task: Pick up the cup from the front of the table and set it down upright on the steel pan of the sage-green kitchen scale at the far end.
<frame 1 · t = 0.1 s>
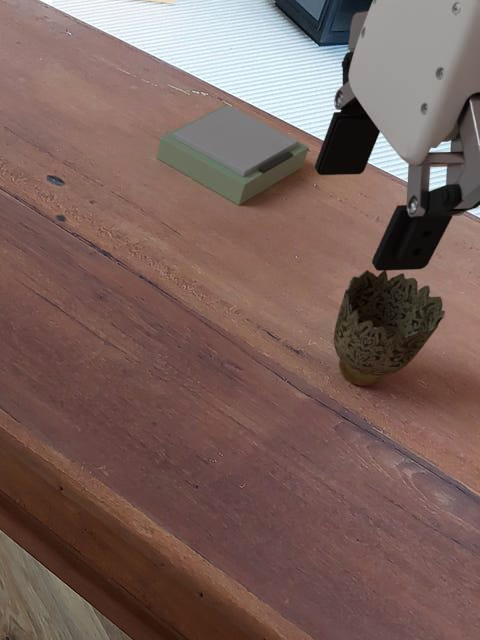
hand: (366, 217, 54), 20 cm above the table, tool pointing down, fingers open, 9 cm apart
scale: (229, 162, 94), on the table
cup: (357, 375, 75), on the table
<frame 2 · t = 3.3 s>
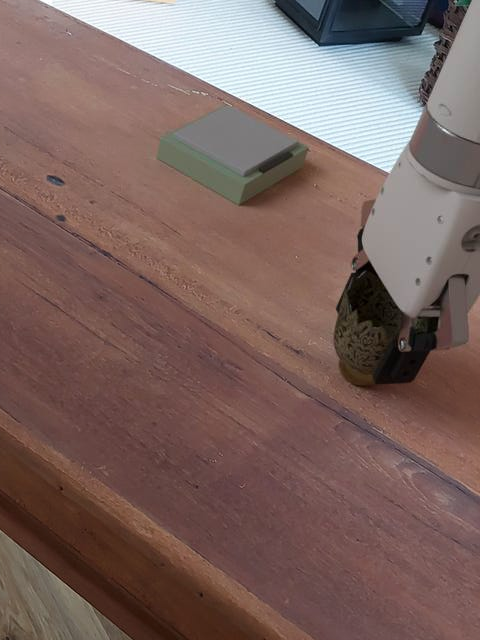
hand: (372, 344, 72), 3 cm above the table, tool pointing down, fingers closed on cup, 7 cm apart
cup: (357, 375, 75), on the table, touching gripper
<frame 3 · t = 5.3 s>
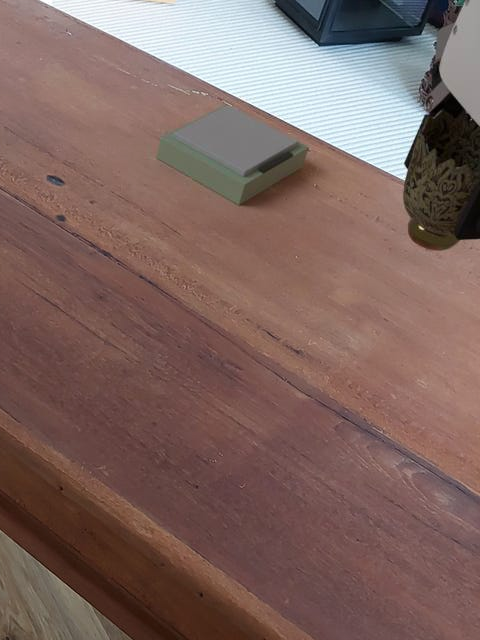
hand: (449, 199, 62), 17 cm above the table, tool pointing down, fingers closed on cup, 7 cm apart
cup: (429, 241, 64), point 13 cm above the table, touching gripper
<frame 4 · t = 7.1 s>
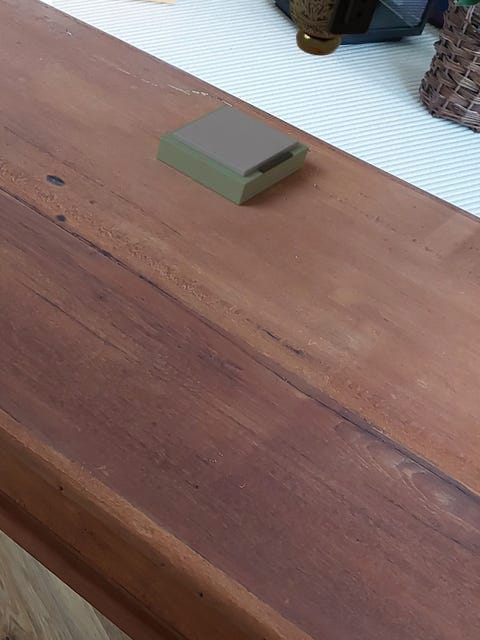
hand: (328, 8, 73), 20 cm above the table, tool pointing down, fingers closed on cup, 7 cm apart
cup: (314, 51, 76), point 16 cm above the table, touching gripper
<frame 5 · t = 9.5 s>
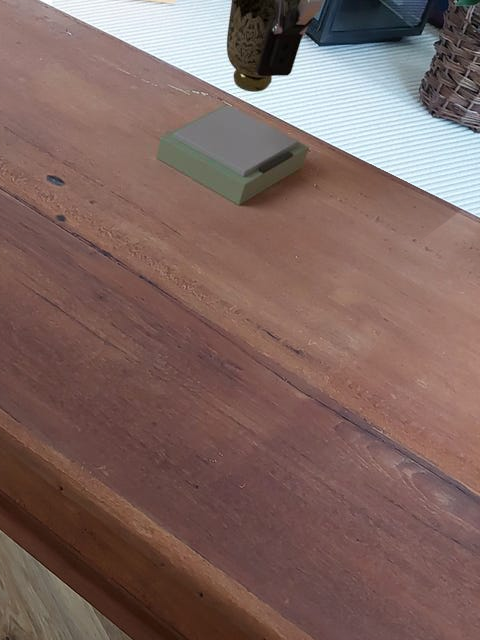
hand: (260, 52, 85), 12 cm above the table, tool pointing down, fingers closed on cup, 7 cm apart
cup: (249, 87, 88), point 8 cm above the table, touching gripper
when the fingers open (6 cm above the table, at t = 11.4 s): cup stays where it is, resting on scale.
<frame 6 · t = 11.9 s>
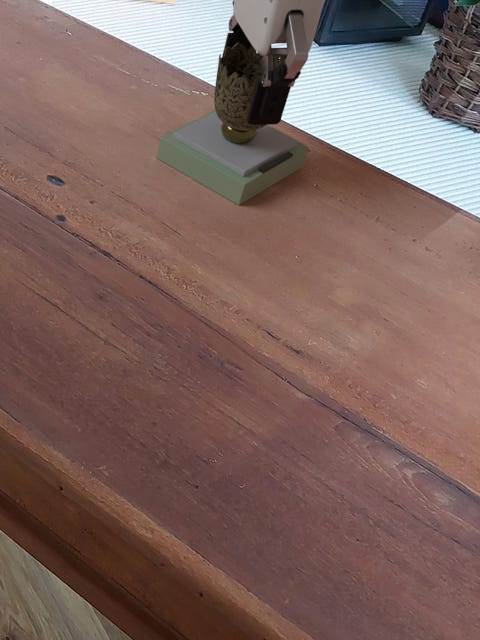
hand: (247, 97, 88), 7 cm above the table, tool pointing down, fingers open, 9 cm apart
cup: (236, 138, 92), point 3 cm above the table, touching scale
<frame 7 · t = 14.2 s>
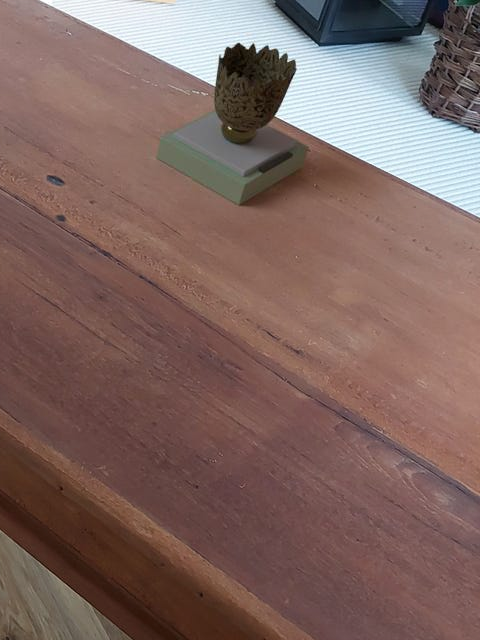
nothing on the table moved.
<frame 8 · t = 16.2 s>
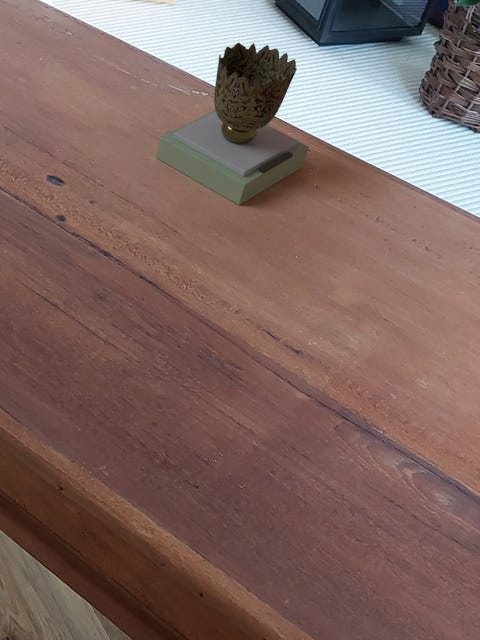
nothing on the table moved.
at the end: cup inside the target area on the scale (0.0 cm from its centre), point 2.8 cm above the scale's base; cup tilted 0°; the gripper is holding nothing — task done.
